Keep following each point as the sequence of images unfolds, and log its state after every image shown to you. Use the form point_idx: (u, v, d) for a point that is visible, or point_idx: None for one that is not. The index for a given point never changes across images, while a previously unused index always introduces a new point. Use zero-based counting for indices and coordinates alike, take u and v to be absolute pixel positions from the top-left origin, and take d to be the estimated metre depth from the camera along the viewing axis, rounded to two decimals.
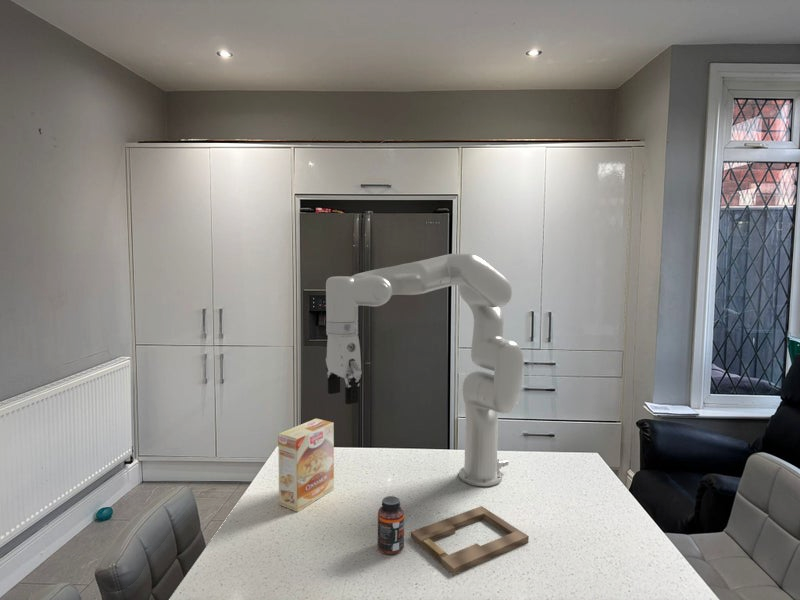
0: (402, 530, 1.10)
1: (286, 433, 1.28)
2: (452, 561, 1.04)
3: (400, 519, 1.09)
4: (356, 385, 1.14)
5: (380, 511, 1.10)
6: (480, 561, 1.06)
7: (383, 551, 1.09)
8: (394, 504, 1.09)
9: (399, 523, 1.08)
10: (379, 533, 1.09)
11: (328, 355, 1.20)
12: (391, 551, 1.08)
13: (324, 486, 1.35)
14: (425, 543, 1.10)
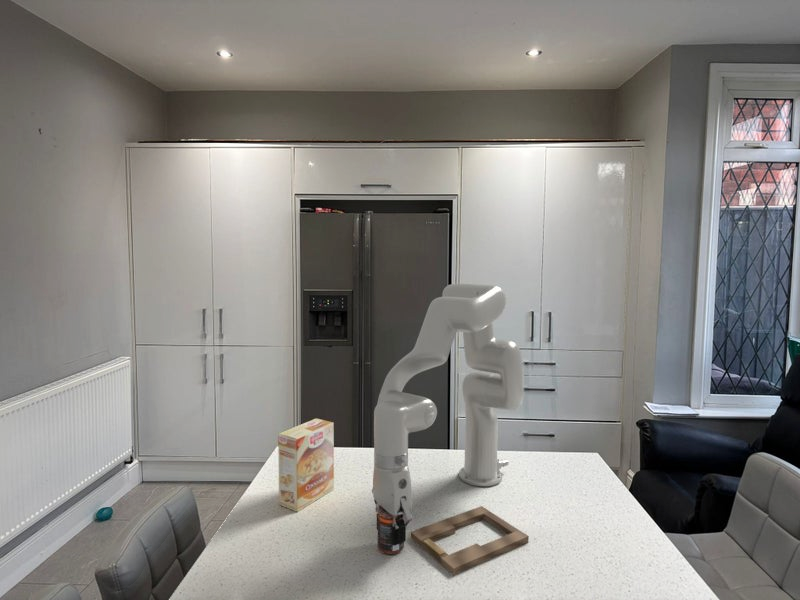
0: None
1: (286, 433, 1.28)
2: (452, 561, 1.04)
3: None
4: (404, 526, 1.07)
5: (380, 511, 1.10)
6: (480, 561, 1.06)
7: (383, 551, 1.09)
8: None
9: None
10: (379, 533, 1.09)
11: (375, 485, 1.11)
12: (391, 551, 1.08)
13: (324, 486, 1.35)
14: (425, 543, 1.10)
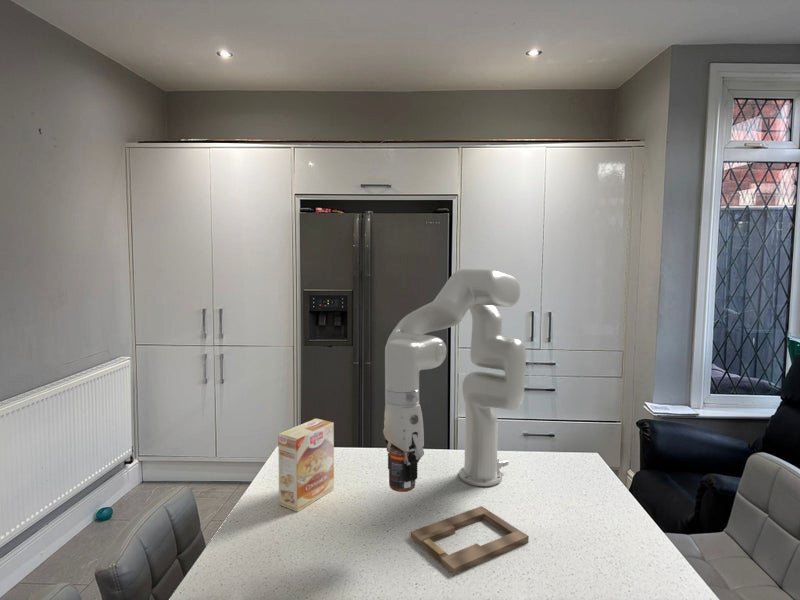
0: None
1: (286, 433, 1.28)
2: (452, 561, 1.04)
3: None
4: (415, 463, 1.06)
5: (391, 449, 1.09)
6: (480, 561, 1.06)
7: (395, 489, 1.08)
8: None
9: None
10: (390, 471, 1.09)
11: (386, 424, 1.11)
12: (403, 488, 1.08)
13: (324, 486, 1.35)
14: (425, 543, 1.10)
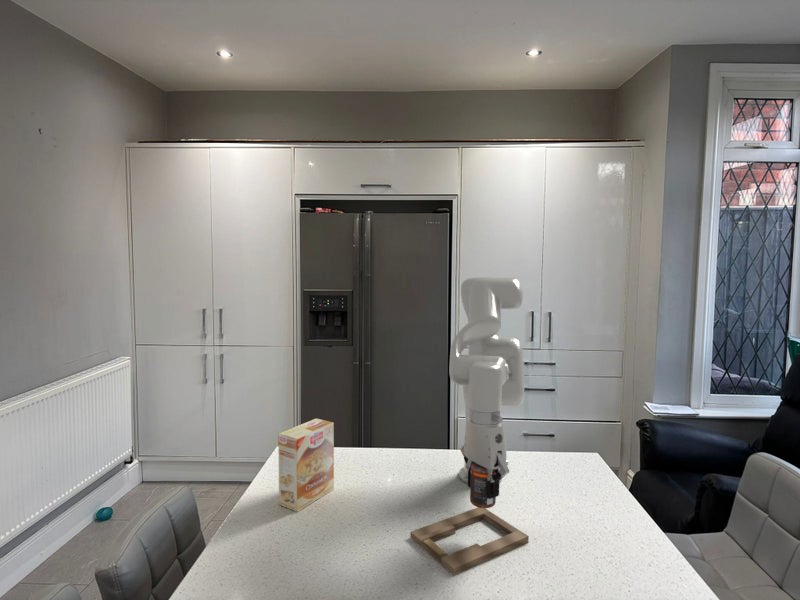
0: None
1: (286, 433, 1.28)
2: (452, 561, 1.04)
3: (494, 474, 1.13)
4: (499, 480, 1.11)
5: (473, 467, 1.14)
6: (480, 561, 1.06)
7: (477, 505, 1.13)
8: None
9: None
10: (473, 488, 1.14)
11: (467, 442, 1.16)
12: (485, 505, 1.13)
13: (324, 486, 1.35)
14: (425, 543, 1.10)
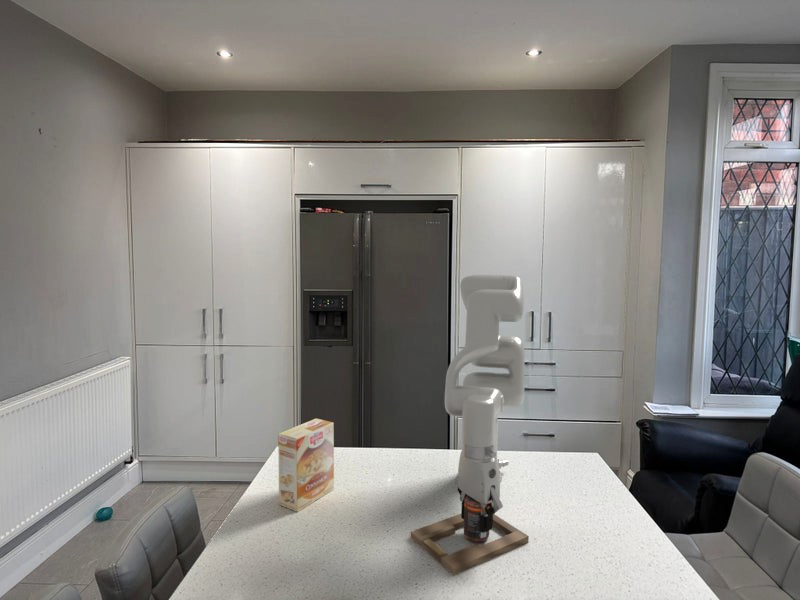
0: None
1: (286, 433, 1.28)
2: (452, 561, 1.04)
3: (487, 508, 1.13)
4: (492, 514, 1.11)
5: (467, 500, 1.14)
6: (480, 561, 1.06)
7: (471, 538, 1.13)
8: None
9: None
10: (467, 521, 1.14)
11: (461, 475, 1.16)
12: (479, 538, 1.13)
13: (324, 486, 1.35)
14: (425, 543, 1.10)
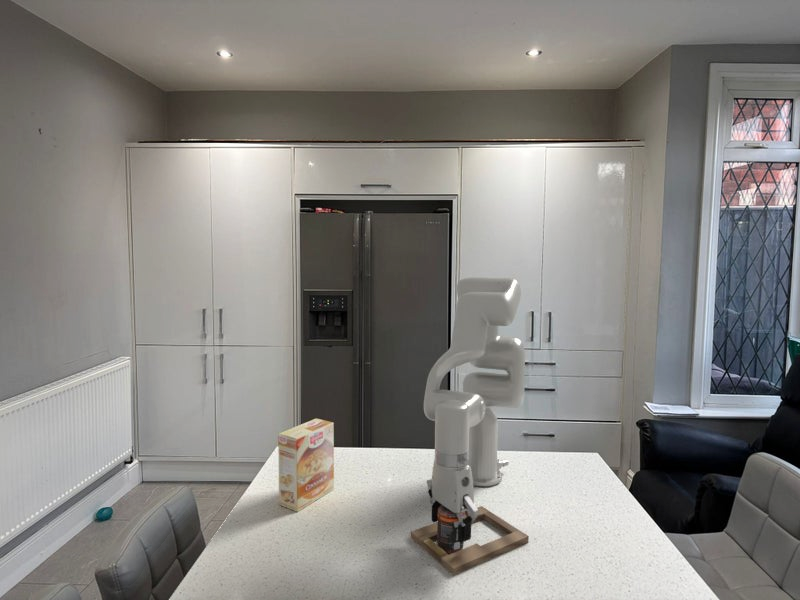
0: None
1: (286, 433, 1.28)
2: (452, 561, 1.04)
3: None
4: (470, 523, 1.06)
5: (440, 510, 1.10)
6: (480, 561, 1.06)
7: (444, 550, 1.09)
8: None
9: None
10: (440, 532, 1.10)
11: (435, 483, 1.12)
12: (452, 550, 1.09)
13: (324, 486, 1.35)
14: (425, 543, 1.10)
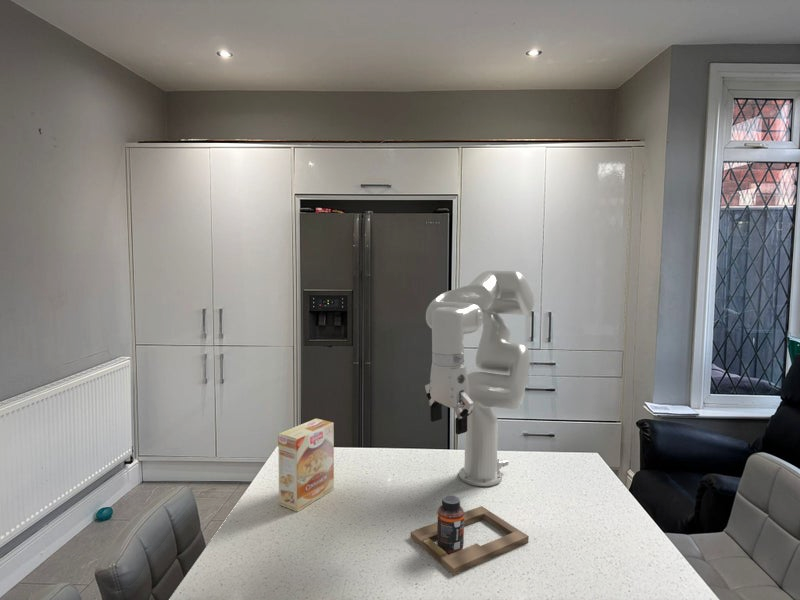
0: (462, 529, 1.10)
1: (286, 433, 1.28)
2: (452, 561, 1.04)
3: (461, 518, 1.09)
4: (467, 416, 1.16)
5: (440, 510, 1.10)
6: (480, 561, 1.06)
7: (444, 550, 1.09)
8: (455, 503, 1.09)
9: (460, 522, 1.09)
10: (440, 532, 1.10)
11: (433, 385, 1.21)
12: (452, 550, 1.09)
13: (324, 486, 1.35)
14: (425, 543, 1.10)
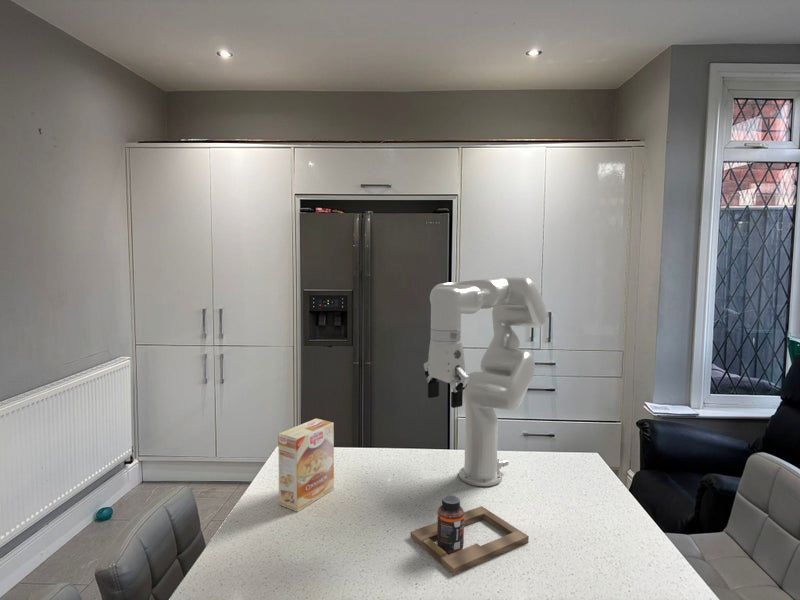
0: (462, 529, 1.10)
1: (286, 433, 1.28)
2: (452, 561, 1.04)
3: (461, 518, 1.09)
4: (462, 390, 1.21)
5: (440, 510, 1.10)
6: (480, 561, 1.06)
7: (444, 550, 1.09)
8: (455, 503, 1.09)
9: (460, 522, 1.09)
10: (440, 532, 1.10)
11: (431, 361, 1.27)
12: (452, 550, 1.09)
13: (324, 486, 1.35)
14: (425, 543, 1.10)
